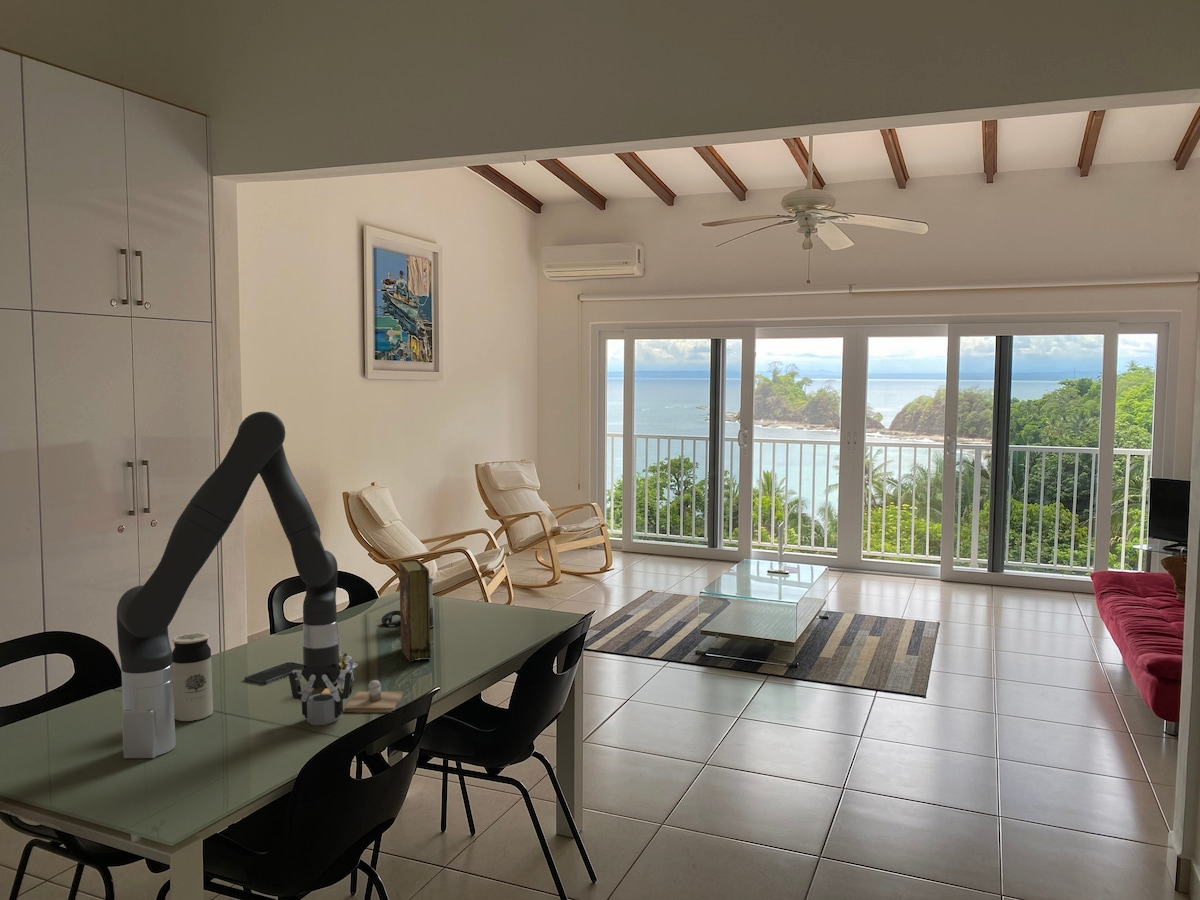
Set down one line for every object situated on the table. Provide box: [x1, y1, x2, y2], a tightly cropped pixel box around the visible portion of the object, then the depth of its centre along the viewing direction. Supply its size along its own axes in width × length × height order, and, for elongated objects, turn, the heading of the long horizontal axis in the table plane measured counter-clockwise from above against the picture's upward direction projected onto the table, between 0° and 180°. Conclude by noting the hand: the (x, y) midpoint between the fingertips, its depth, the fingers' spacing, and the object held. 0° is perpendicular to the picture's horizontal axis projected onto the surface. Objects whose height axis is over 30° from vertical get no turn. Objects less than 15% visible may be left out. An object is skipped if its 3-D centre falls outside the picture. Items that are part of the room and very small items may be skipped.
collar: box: [306, 689, 339, 726], centre depth 198 cm, size 10×6×5 cm, turn 0°
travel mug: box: [172, 632, 214, 722], centre depth 199 cm, size 8×8×18 cm
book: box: [398, 559, 432, 662], centre depth 244 cm, size 16×6×25 cm, turn 22°
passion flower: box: [337, 647, 359, 691], centre depth 219 cm, size 11×11×12 cm
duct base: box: [343, 679, 405, 714], centre depth 206 cm, size 11×11×6 cm
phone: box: [244, 661, 304, 686], centre depth 228 cm, size 8×1×15 cm
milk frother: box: [381, 577, 435, 626], centre depth 274 cm, size 14×16×15 cm
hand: (322, 716), depth 196 cm, fingers closed on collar, 6 cm apart
